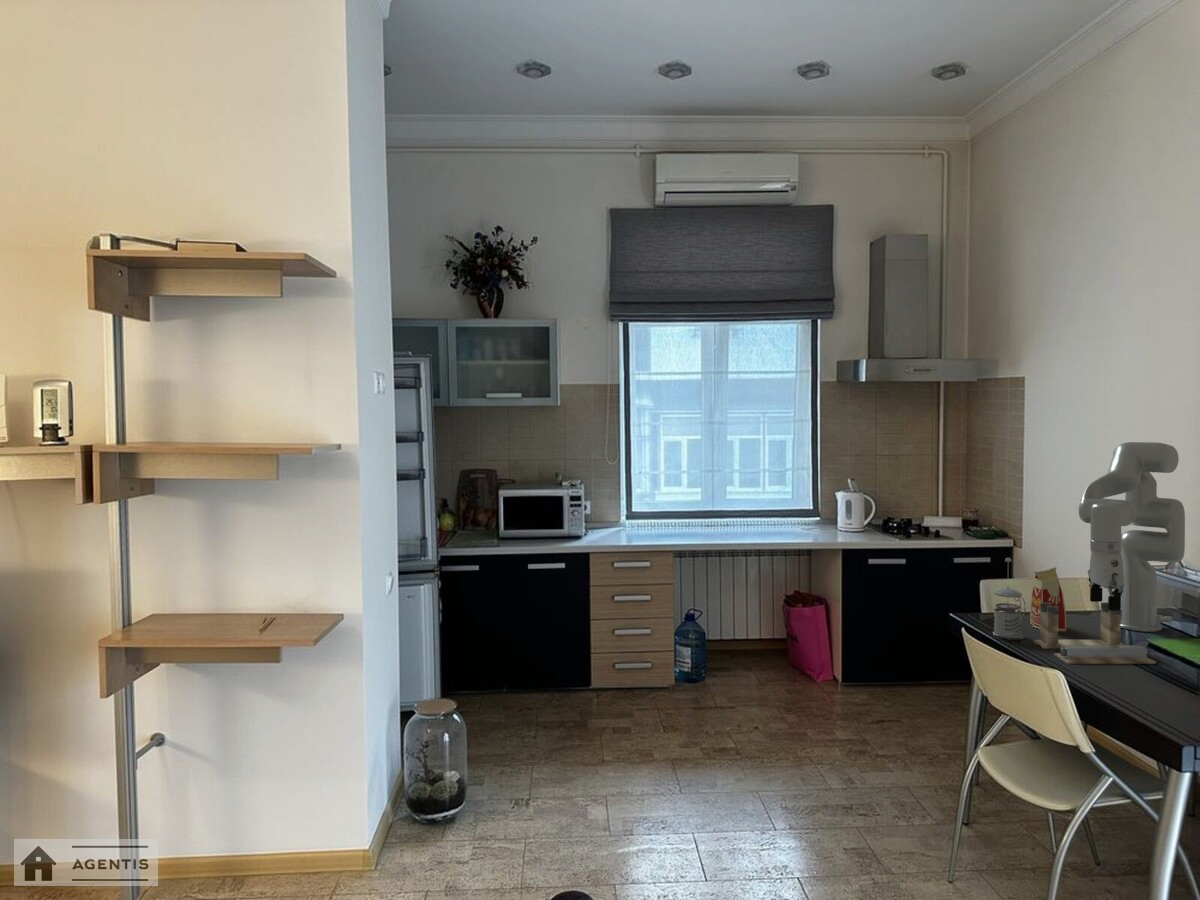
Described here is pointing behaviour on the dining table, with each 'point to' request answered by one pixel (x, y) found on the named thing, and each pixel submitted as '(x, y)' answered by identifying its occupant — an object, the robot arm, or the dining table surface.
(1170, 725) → the dining table surface
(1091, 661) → the wooden board
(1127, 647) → the rail
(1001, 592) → the french press
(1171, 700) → the dining table surface
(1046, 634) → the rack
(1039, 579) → the milk carton
